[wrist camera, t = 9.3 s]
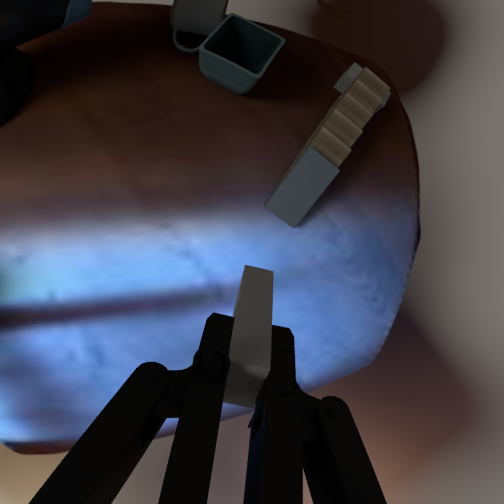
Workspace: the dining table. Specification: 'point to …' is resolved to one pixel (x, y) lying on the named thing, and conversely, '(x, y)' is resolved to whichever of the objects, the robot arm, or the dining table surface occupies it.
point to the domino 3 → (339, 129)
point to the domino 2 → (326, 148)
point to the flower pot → (238, 53)
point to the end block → (348, 79)
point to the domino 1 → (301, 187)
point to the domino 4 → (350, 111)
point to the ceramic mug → (196, 18)
